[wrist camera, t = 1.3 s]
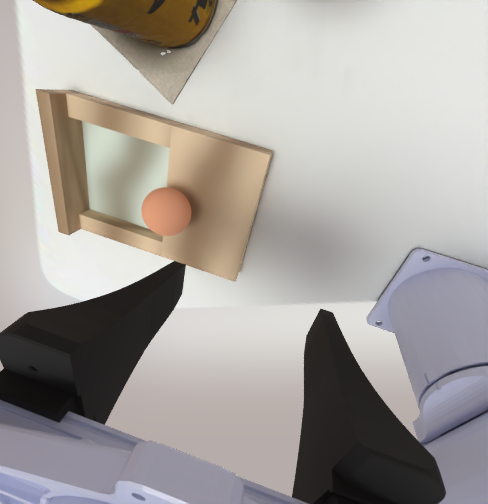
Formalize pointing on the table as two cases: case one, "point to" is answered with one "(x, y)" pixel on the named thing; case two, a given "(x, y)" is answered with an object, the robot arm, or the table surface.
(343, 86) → the table surface
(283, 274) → the table surface
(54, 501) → the robot arm
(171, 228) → the ball
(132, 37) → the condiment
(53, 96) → the board
